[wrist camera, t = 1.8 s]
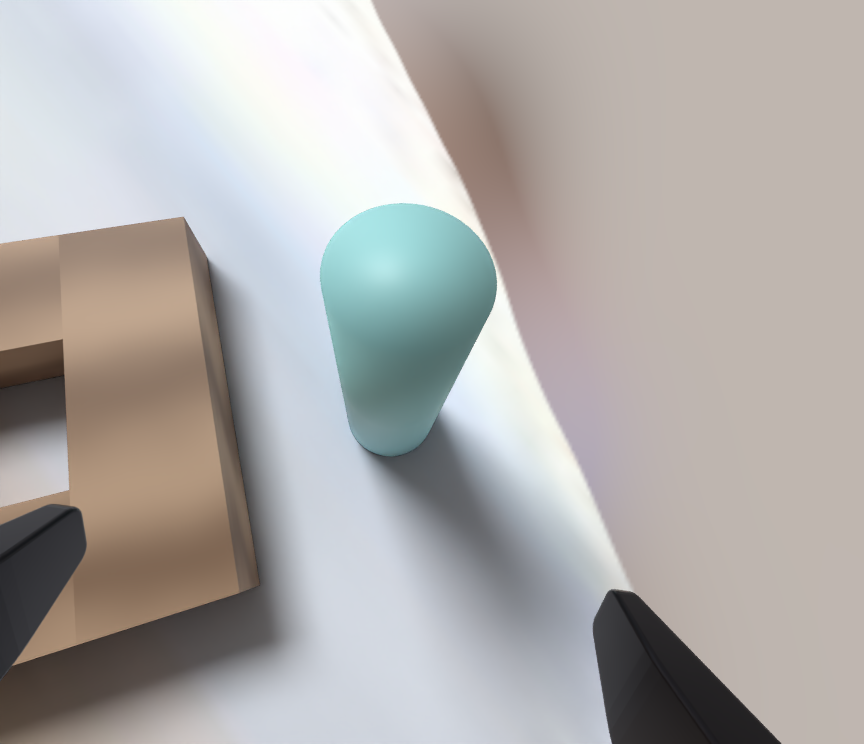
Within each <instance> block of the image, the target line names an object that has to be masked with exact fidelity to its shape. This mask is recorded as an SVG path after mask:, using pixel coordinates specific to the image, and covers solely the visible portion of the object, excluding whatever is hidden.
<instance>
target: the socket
mask: <svg viewBox="0 0 864 744" xmlns="http://www.w3.org/2000/svg"><path fill="white" fill-rule="evenodd" d="M62 375H65V399H66V422H67V445H68V468H69V490H68V491H64V492H60V493H56V494H52V495H48V496H44V497H41V498H37V499H33V500H29V501H25V502H21V503H17V504H13V505H9V506H5V507H1V508H0V525H1V524H3V523H6V522H8V521H10V520H13V519H15V518H17V517H20V516H22V515H24V514H27V513H29V512H31V511H34V510H36V509H38V508H40V507H43V506H46V505H48V504H61V505H68V506H74V507H77V508H79V509H80V511H81V512H82V516H83V522H84V528H85V534H86V540H87V548H86V552H85V555H84V557H83V559H82V561H81V562H80V564H79V565H78V567H77V568H76V570H75V572H74V573H73V575H72V576H71V578H70V579H69V581H68V582H67V584H66V586H65V587H64V589H63V590H62V592H61V593H60V595H59V596H58V598H57V599H56V601H55V603H54V604H53V606H52V607H51V609H50V610H49V612H48V613H47V615H46V617H45V618H44V620H43V621H42V623H41V624H40V626H39V627H38V629H37V631H36V632H35V634H34V635H33V637H32V638H31V640H30V641H29V643H28V644H27V646H26V647H25V649H24V650H23V652H22V653H21V654H20V656H19V657H18V658H17V660H16V661H15V663H14V664H13V665H16V664H19V663H23V662H26V661H29V660H32V659H35V658H38V657H41V656H44V655H48V654H51V653H54V652H57V651H60V650H63V649H66V648H69V647H72V646H76V645H79V644H82V643H85V642H88V641H91V640H94V639H97V638H101V637H104V636H107V635H110V634H113V633H116V632H119V631H122V630H126V629H129V628H132V627H135V626H138V625H141V624H144V623H147V622H150V621H154V620H157V619H160V618H163V617H166V616H169V615H172V614H175V613H179V612H182V611H185V610H188V609H191V608H194V607H197V606H200V605H204V604H207V603H210V602H213V601H216V600H219V599H222V598H225V597H228V596H232V595H235V594H238V593H241V592H243V591H246V590H249V589H251V588H254V587H256V586H259V585H260V582H259V576H258V570H257V564H256V557H255V551H254V545H253V539H252V533H251V527H250V521H249V514H248V508H247V502H246V496H245V490H244V484H243V478H242V471H241V465H240V459H239V453H238V447H237V441H236V435H235V429H234V422H233V416H232V410H231V404H230V398H229V392H228V386H227V379H226V373H225V367H224V361H223V355H222V349H221V343H220V336H219V330H218V324H217V318H216V312H215V306H214V300H213V293H212V287H211V281H210V275H209V269H208V263H207V257H206V254H205V253H204V251H203V249H202V248H201V246H200V244H199V242H198V241H197V239H196V237H195V236H194V234H193V232H192V230H191V229H190V227H189V225H188V224H187V222H186V220H185V218H184V217H178V218H172V219H165V220H158V221H151V222H144V223H138V224H131V225H124V226H117V227H110V228H104V229H97V230H90V231H83V232H77V233H70V234H63V235H56V236H49V237H43V238H36V239H29V240H22V241H15V242H9V243H2V244H0V388H4V387H9V386H14V385H19V384H23V383H28V382H33V381H38V380H43V379H48V378H53V377H57V376H62ZM13 665H12V666H13Z"/></svg>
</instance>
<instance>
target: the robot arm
mask: <svg viewBox="0 0 864 744" xmlns="http://www.w3.org/2000/svg"><path fill="white" fill-rule="evenodd" d="M86 548H87V540H86V534H85V528H84V522H83V516H82V512H81V511H80V509H79V508H77V507H74V506H68V505H61V504H48V505H46V506H43V507H40V508H38V509H36V510H34V511H31V512H29V513H27V514H24V515H22V516H20V517H17V518H15V519H13V520H10V521H8V522H6V523H3V524H1V525H0V681H1V680H2V678H3V677H4V676H5V675H6V673H7V672H8V671H9V669H10V668H11V667H12V665H13V664H14V663H15V661H16V660H17V658H18V657H19V656H20V654H21V653H22V652H23V650H24V649H25V647H26V646H27V644H28V643H29V641H30V640H31V638H32V637H33V635H34V634H35V632H36V631H37V629H38V627H39V626H40V624H41V623H42V621H43V620H44V618H45V617H46V615H47V613H48V612H49V610H50V609H51V607H52V606H53V604H54V603H55V601H56V599H57V598H58V596H59V595H60V593H61V592H62V590H63V589H64V587H65V586H66V584H67V582H68V581H69V579H70V578H71V576H72V575H73V573H74V572H75V570H76V568H77V567H78V565H79V564H80V562H81V561H82V559H83V557H84V555H85V552H86ZM593 637H594V643H595V649H596V655H597V662H598V668H599V674H600V680H601V686H602V693H603V699H604V705H605V711H606V717H607V722H608V728H609V733H610V737H611V741H612V744H781V743H780V742H779V741H778V740H777V739H776V738H775V736H774V735H773V734H772V733H770V731H769V730H768V729H767V728H766V727H765V726H764V725H763V724H762V723H761V722H760V721H759V720H758V719H757V718H756V717H755V716H754V715H753V714H752V713H751V712H750V711H749V710H748V709H747V708H746V707H745V706H744V705H743V703H742V702H740V700H739V699H738V698H736V696H735V695H734V694H733V693H732V692H731V691H730V690H729V689H728V688H727V687H726V686H725V685H724V684H723V683H722V682H721V681H720V680H719V679H718V678H717V677H716V676H715V675H714V674H713V673H712V672H711V670H710V669H708V667H707V666H705V664H704V663H703V662H702V661H701V660H700V659H699V658H698V657H697V656H696V655H695V654H694V653H693V652H692V651H691V650H690V649H689V648H688V647H687V646H686V645H685V644H684V643H683V642H682V641H681V640H680V639H679V638H678V637H677V635H676V634H675V633H673V631H672V630H671V629H670V628H669V627H668V626H667V625H666V624H665V623H664V622H663V621H662V620H661V619H660V618H659V617H658V616H657V615H656V614H655V613H654V612H653V611H652V610H651V609H650V608H649V607H648V606H647V605H646V604H645V602H644V601H643V600H642V599H641V598H640V597H639V596H637V595H636V594H635V593H633V592H630V591H623V590H617V589H611V590H610V591H608V593H607V594H606V596H605V598H604V600H603V602H602V604H601V606H600V608H599V610H598V612H597V614H596V616H595V619H594V622H593Z"/></svg>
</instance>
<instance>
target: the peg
mask: <svg viewBox="0 0 864 744" xmlns="http://www.w3.org/2000/svg"><path fill="white" fill-rule="evenodd" d="M320 282H321V289H322V294H323V299H324V304H325V309H326V314H327V319H328V324H329V329H330V334H331V338H332V343H333V348H334V353H335V358H336V363H337V368H338V373H339V378H340V383H341V388H342V393H343V397H344V402H345V407H346V412H347V417H348V422H349V426H350V429H351V432H352V434H353V435H354V437H355V439H356V440H357V441H358V442H359V443H360V444H361V445H362V446H363V447H364V448H366V449H367V450H369V451H371V452H372V453H375V454H378V455H382V456H399V455H403V454H406V453H408V452H410V451H412V450H414V449H415V448H417V447H418V446H419V445H420V444H421V443H422V442H423V441H424V440H425V438H426V437H427V435H428V433H429V431H430V429H431V427H432V425H433V423H434V421H435V420H436V418H437V416H438V414H439V412H440V410H441V408H442V406H443V404H444V402H445V400H446V398H447V396H448V394H449V392H450V390H451V388H452V386H453V384H454V383H455V381H456V379H457V377H458V375H459V373H460V371H461V369H462V367H463V365H464V363H465V361H466V359H467V357H468V355H469V353H470V351H471V349H472V347H473V346H474V344H475V342H476V340H477V338H478V336H479V334H480V332H481V330H482V328H483V326H484V324H485V322H486V320H487V318H488V316H489V314H490V312H491V310H492V308H493V305H494V302H495V297H496V291H497V278H496V271H495V267H494V264H493V261H492V258H491V256H490V254H489V252H488V250H487V248H486V247H485V245H484V243H483V242H482V241H481V240H480V238H479V237H478V236H477V235H476V234H475V233H474V232H473V231H472V230H471V229H470V228H469V227H468V226H467V225H465V224H464V223H463V222H461V221H460V220H458V219H457V218H455V217H454V216H452V215H450V214H448V213H445V212H443V211H441V210H438V209H435V208H432V207H428V206H424V205H418V204H406V203H399V204H388V205H383V206H379V207H375V208H372V209H369V210H367V211H364V212H362V213H360V214H358V215H357V216H355V217H353V218H351V219H350V220H349V221H348V222H346V223H345V224H344V225H343V226H342V227H341V228H340V229H339V230H338V231H337V232H336V233H335V234H334V236H333V237H332V238H331V240H330V242H329V243H328V245H327V247H326V249H325V252H324V255H323V258H322V262H321V268H320Z"/></svg>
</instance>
